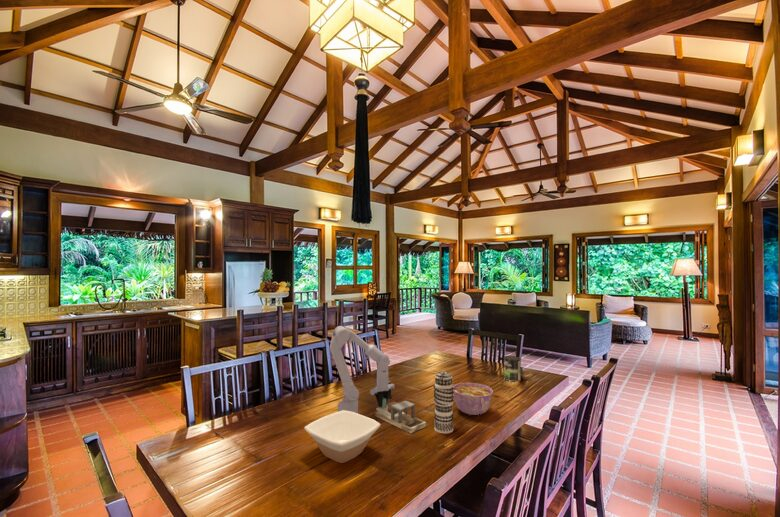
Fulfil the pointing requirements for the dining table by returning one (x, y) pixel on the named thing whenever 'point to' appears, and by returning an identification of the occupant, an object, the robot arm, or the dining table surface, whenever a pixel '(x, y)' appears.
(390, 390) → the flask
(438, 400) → the white patterned tall cylinder
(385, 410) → the block
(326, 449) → the bowl
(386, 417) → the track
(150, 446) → the dining table surface
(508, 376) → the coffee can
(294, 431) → the dining table surface
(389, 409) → the walnut block
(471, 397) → the bowl of food
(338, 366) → the robot arm
